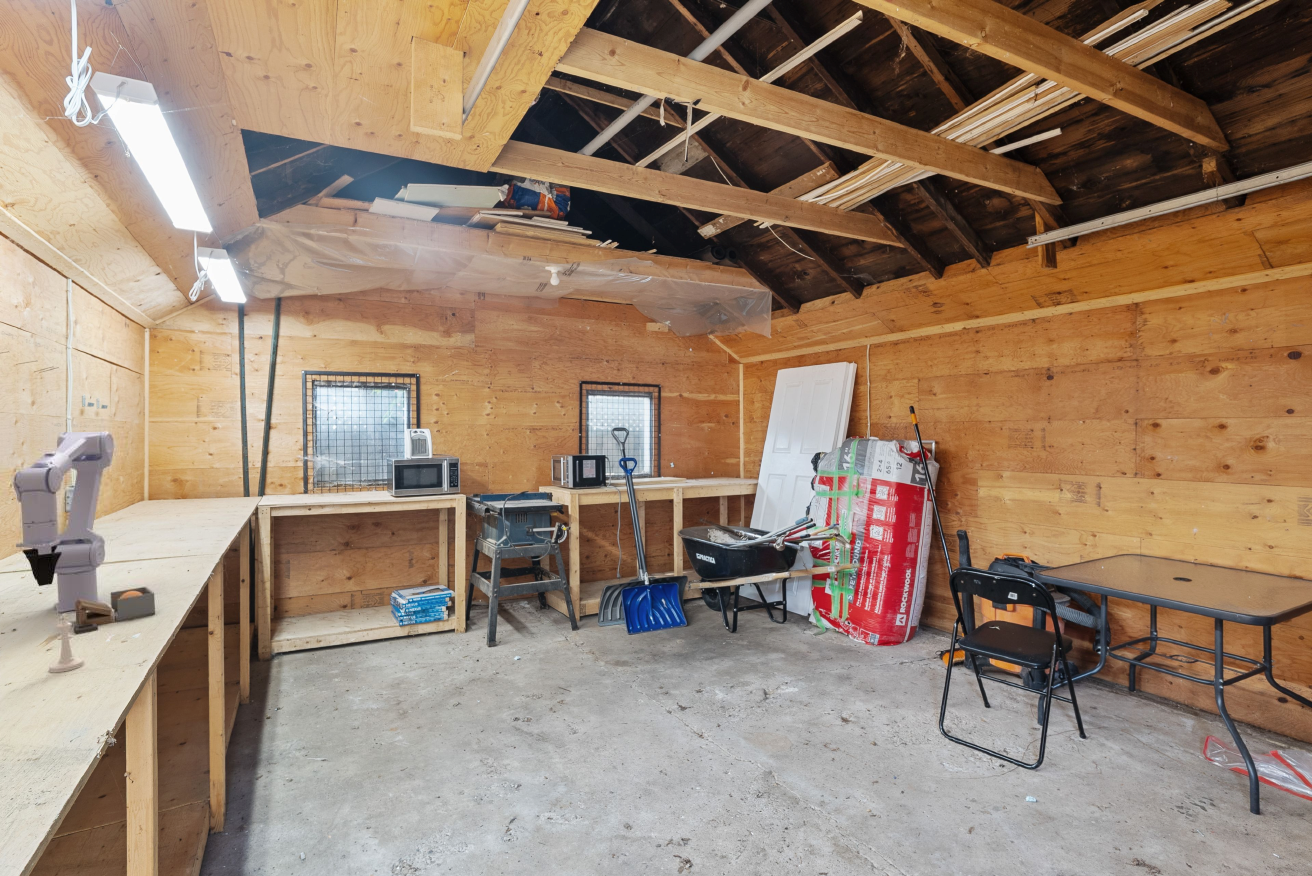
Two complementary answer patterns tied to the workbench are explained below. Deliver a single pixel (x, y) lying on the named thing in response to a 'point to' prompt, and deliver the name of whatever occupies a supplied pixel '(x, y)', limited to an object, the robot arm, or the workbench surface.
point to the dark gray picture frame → (85, 628)
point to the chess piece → (65, 650)
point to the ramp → (93, 612)
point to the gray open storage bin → (133, 604)
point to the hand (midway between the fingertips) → (43, 581)
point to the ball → (130, 594)
